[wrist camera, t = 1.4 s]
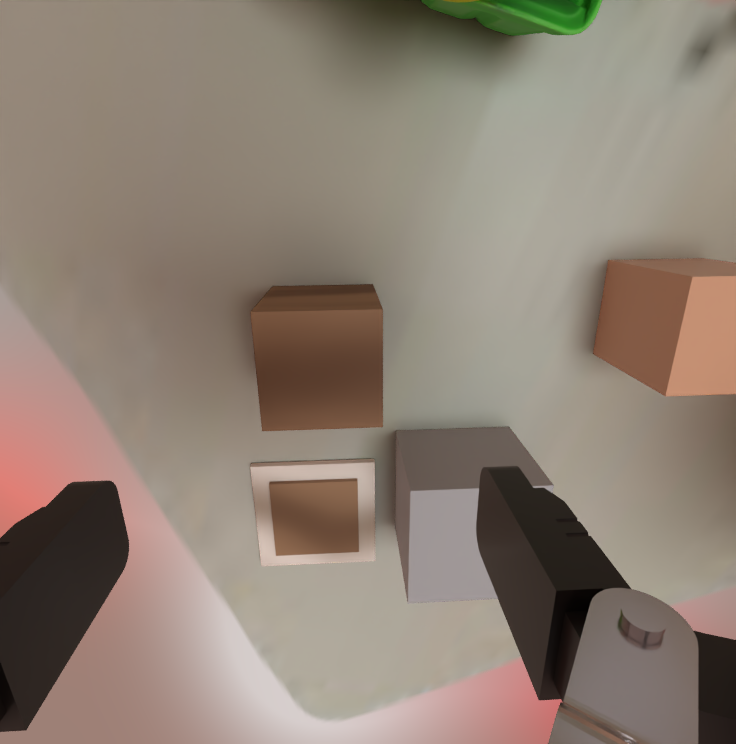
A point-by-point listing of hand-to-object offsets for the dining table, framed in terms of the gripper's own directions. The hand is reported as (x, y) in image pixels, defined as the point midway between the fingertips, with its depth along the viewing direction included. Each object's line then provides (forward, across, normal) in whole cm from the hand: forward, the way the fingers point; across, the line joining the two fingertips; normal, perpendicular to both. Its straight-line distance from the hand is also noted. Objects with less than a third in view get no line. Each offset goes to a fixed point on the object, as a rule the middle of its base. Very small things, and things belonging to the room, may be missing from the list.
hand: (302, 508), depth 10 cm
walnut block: (+15, 0, 0) cm, 15 cm away
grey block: (+15, -7, +9) cm, 19 cm away
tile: (+15, +1, +11) cm, 18 cm away
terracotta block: (+15, -17, -1) cm, 22 cm away
